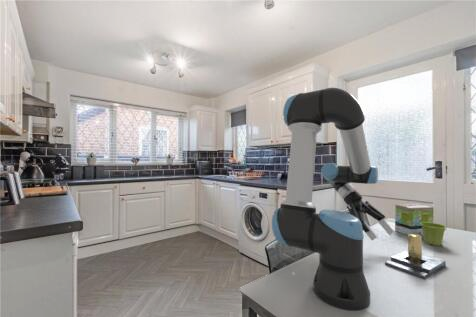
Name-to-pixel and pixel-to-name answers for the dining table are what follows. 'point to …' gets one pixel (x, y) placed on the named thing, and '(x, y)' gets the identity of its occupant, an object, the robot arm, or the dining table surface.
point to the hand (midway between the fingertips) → (383, 236)
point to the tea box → (412, 218)
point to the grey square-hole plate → (410, 269)
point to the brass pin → (415, 248)
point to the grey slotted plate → (428, 261)
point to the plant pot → (433, 232)
